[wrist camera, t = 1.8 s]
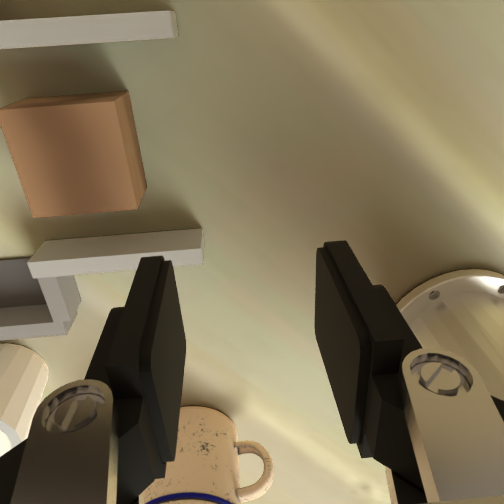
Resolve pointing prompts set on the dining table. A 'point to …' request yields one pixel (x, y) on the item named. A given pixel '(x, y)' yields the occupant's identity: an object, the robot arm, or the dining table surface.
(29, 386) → the shot glass
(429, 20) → the dining table surface
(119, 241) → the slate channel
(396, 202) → the dining table surface
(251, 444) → the teacup with lid
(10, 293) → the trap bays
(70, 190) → the walnut block
